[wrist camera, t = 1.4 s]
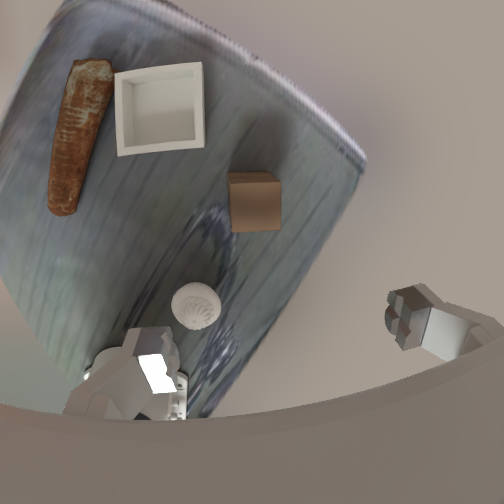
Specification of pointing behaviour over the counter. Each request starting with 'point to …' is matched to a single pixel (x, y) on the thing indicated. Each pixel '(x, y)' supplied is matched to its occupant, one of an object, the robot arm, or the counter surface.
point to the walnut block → (254, 201)
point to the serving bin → (160, 108)
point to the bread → (78, 130)
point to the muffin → (196, 305)
